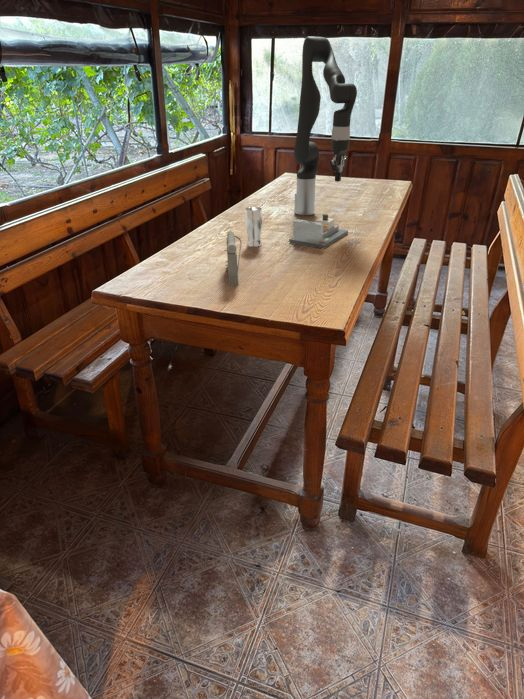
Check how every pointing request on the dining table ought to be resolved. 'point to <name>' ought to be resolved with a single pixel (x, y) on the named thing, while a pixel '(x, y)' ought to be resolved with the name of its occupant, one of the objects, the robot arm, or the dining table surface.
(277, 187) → the dining table surface
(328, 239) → the tester base
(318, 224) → the brushed metal plate
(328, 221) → the spring plunger
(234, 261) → the geiger counter
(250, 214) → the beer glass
